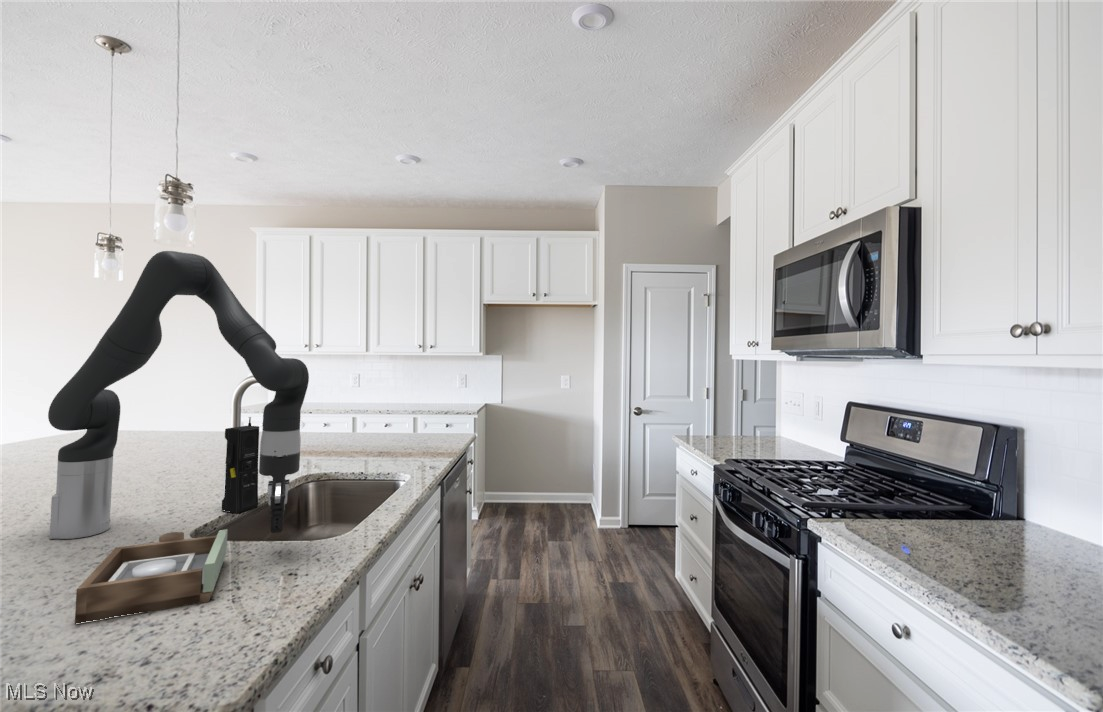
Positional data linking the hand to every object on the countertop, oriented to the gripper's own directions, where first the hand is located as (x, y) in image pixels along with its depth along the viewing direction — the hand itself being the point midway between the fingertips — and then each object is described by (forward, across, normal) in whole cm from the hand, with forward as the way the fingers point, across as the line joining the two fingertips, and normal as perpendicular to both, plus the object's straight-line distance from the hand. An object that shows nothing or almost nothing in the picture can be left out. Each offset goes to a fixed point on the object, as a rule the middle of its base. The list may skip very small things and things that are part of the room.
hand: (276, 531), depth 101 cm
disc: (+2, +8, -19) cm, 21 cm away
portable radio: (+5, -38, -10) cm, 39 cm away
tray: (+3, +8, -17) cm, 19 cm away
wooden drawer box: (+5, +8, -18) cm, 20 cm away
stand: (+5, -6, -19) cm, 20 cm away
